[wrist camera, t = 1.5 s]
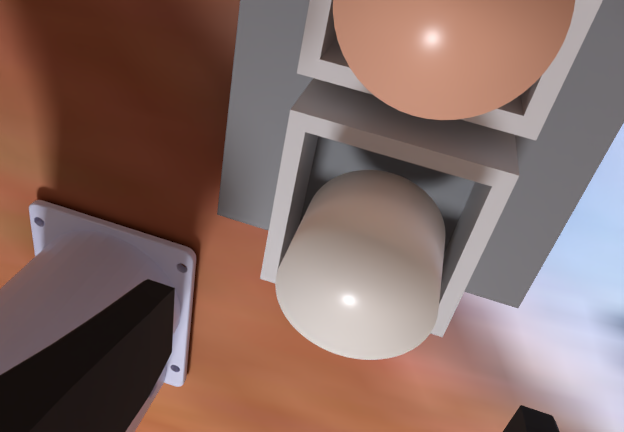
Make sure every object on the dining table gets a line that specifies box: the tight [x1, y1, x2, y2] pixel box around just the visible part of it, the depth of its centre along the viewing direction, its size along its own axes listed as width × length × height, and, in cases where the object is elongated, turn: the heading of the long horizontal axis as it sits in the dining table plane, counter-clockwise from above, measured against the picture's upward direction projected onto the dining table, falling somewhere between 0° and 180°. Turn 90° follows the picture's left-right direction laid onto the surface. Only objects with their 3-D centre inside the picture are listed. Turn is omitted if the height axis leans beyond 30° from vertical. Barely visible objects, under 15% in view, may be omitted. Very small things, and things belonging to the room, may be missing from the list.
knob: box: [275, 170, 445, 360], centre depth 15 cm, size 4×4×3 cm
